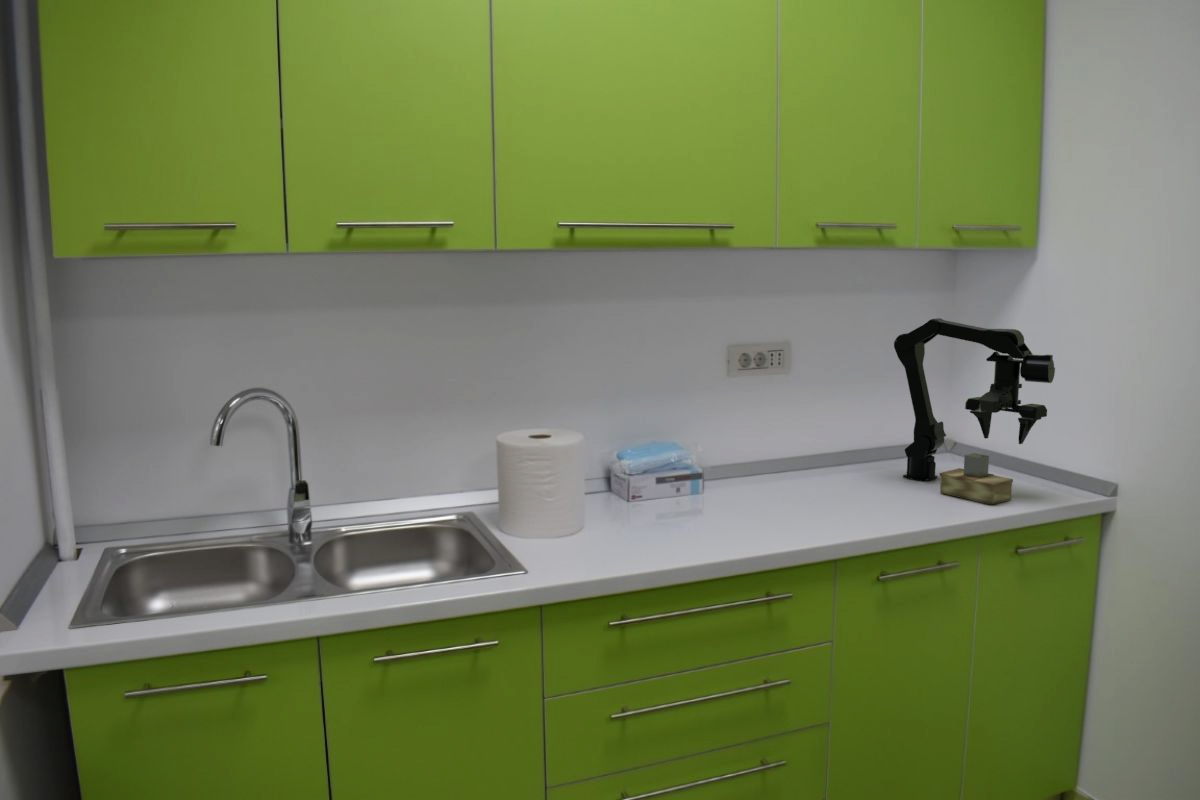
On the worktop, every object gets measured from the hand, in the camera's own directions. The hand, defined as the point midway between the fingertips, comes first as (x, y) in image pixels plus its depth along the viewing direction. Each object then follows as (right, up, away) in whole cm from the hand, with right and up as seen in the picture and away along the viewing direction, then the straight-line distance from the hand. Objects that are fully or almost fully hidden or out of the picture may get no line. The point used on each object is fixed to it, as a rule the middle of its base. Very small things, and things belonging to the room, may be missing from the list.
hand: (1003, 441), depth 220 cm
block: (-9, -8, -5) cm, 13 cm away
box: (-9, -13, -4) cm, 17 cm away
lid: (-9, -9, -5) cm, 14 cm away
